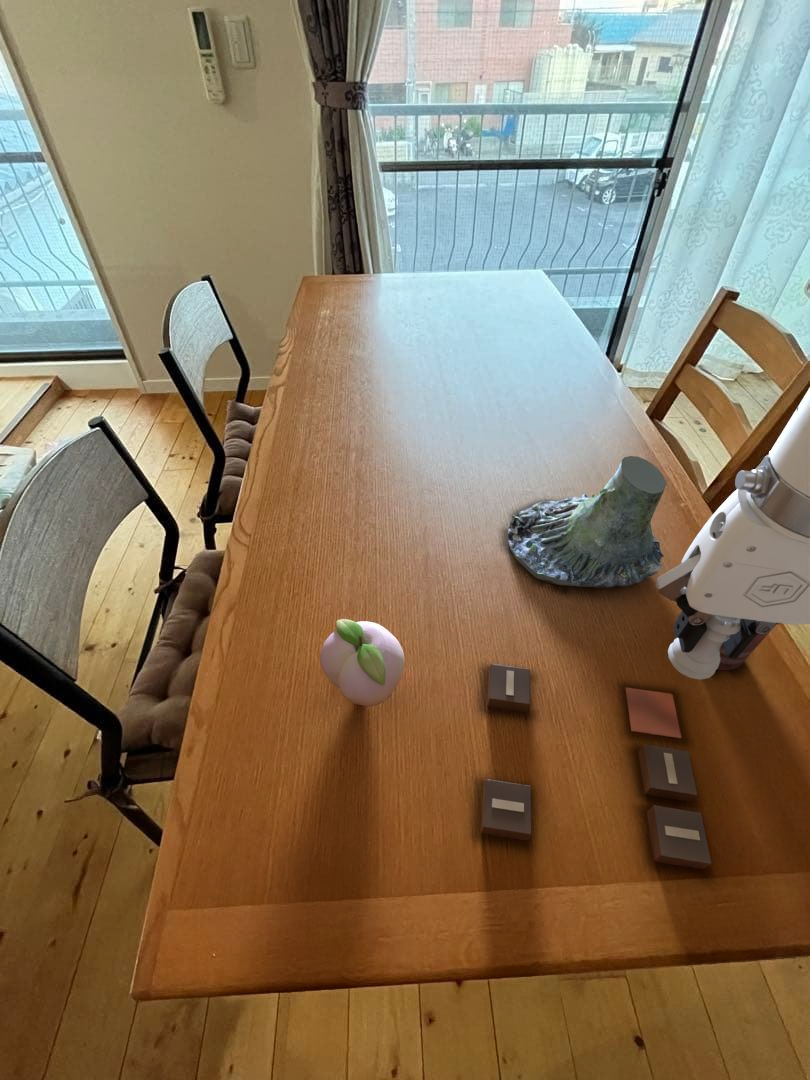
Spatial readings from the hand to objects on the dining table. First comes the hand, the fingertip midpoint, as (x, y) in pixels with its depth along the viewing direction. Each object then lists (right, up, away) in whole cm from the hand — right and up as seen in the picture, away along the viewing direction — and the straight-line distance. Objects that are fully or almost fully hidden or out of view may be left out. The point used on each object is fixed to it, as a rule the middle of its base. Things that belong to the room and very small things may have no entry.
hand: (705, 641), depth 51 cm
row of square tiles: (-1, -14, +6) cm, 16 cm away
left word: (-17, -13, +7) cm, 22 cm away
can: (+10, -4, +16) cm, 20 cm away
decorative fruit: (-32, -7, +12) cm, 35 cm away
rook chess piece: (0, -3, +3) cm, 4 cm away
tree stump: (-3, +8, +28) cm, 29 cm away
